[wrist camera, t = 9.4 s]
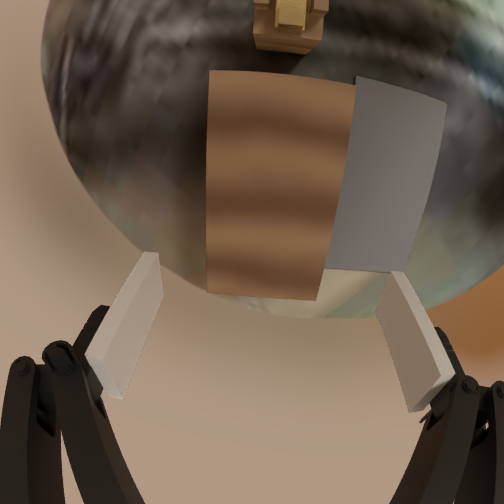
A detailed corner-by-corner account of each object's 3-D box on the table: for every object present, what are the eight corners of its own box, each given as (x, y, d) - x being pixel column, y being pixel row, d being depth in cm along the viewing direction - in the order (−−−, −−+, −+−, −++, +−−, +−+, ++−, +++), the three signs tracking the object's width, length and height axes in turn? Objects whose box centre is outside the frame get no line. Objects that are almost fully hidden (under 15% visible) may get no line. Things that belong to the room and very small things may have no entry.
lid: (218, 73, 22) (209, 70, 18) (343, 85, 22) (356, 85, 18) (213, 269, 33) (207, 292, 29) (311, 277, 33) (315, 300, 29)
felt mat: (355, 75, 25) (356, 75, 25) (446, 103, 25) (447, 103, 25) (322, 266, 38) (323, 267, 37) (401, 272, 38) (402, 273, 37)
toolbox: (244, 14, 22) (233, -22, 13) (322, 22, 22) (350, -8, 13) (231, 245, 37) (219, 305, 27) (295, 250, 37) (303, 311, 27)
